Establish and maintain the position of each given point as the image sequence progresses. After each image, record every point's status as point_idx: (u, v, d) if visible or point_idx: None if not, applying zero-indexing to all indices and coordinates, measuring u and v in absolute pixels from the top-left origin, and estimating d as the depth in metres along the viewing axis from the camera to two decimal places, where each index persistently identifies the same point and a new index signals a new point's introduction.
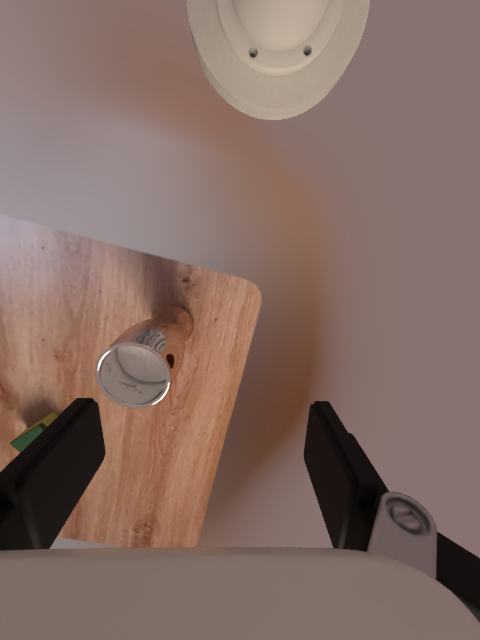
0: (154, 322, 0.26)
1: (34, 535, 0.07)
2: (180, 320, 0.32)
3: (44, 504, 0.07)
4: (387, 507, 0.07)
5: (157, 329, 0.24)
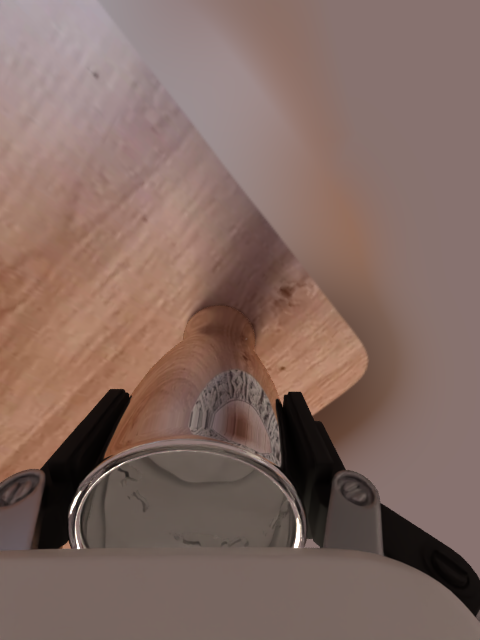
0: (259, 366, 0.11)
1: None
2: None
3: None
4: (340, 484, 0.07)
5: (276, 399, 0.10)
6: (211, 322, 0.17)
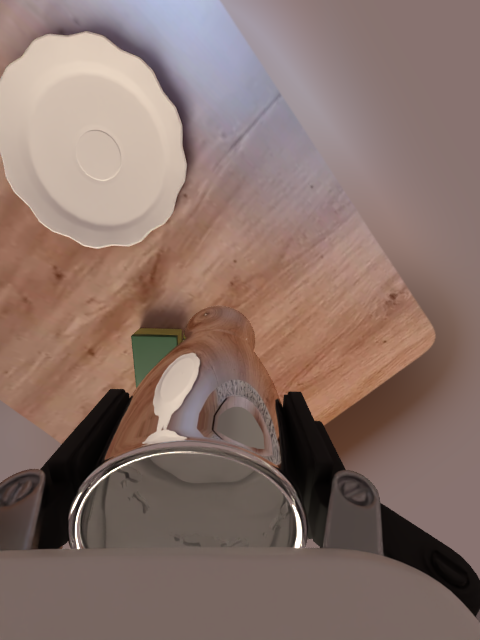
0: (260, 367, 0.11)
1: None
2: None
3: None
4: (340, 483, 0.07)
5: (276, 400, 0.10)
6: (211, 323, 0.17)
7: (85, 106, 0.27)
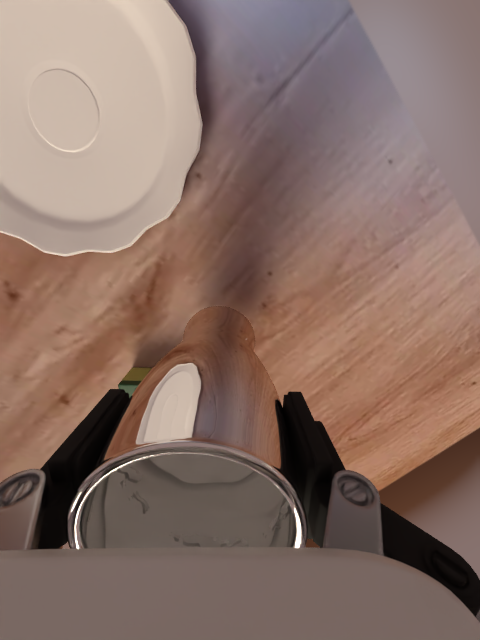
0: (259, 367, 0.11)
1: None
2: None
3: None
4: (340, 483, 0.07)
5: (276, 400, 0.10)
6: (211, 323, 0.17)
7: (39, 27, 0.17)
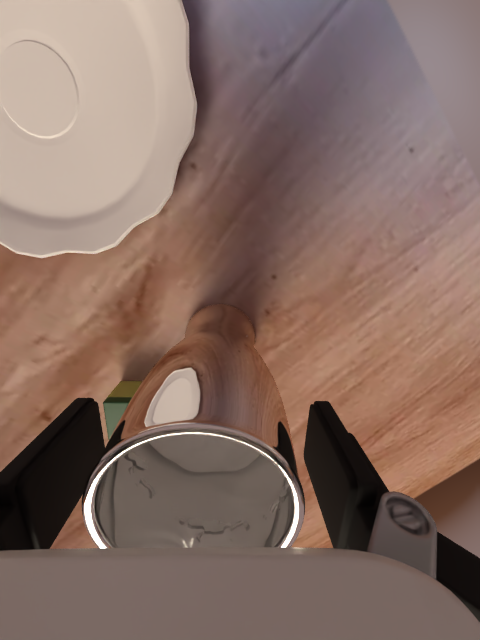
0: (260, 361, 0.12)
1: (34, 535, 0.07)
2: None
3: (44, 504, 0.07)
4: (387, 507, 0.07)
5: (276, 391, 0.10)
6: (212, 320, 0.17)
7: None
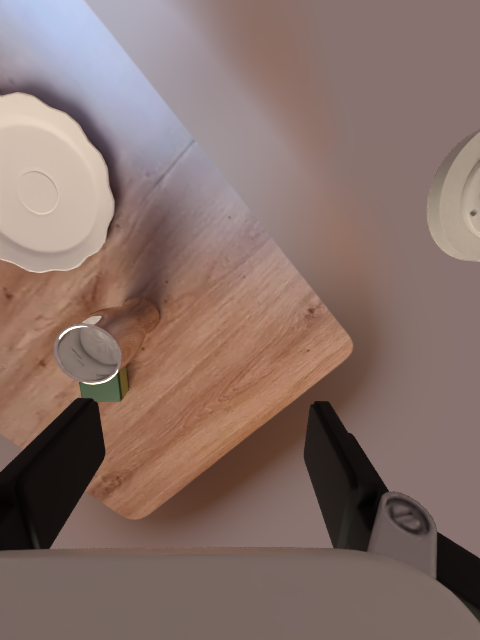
0: (130, 316, 0.29)
1: (34, 535, 0.07)
2: (149, 319, 0.35)
3: (44, 504, 0.07)
4: (387, 507, 0.07)
5: (129, 326, 0.27)
6: (127, 304, 0.34)
7: (23, 151, 0.32)
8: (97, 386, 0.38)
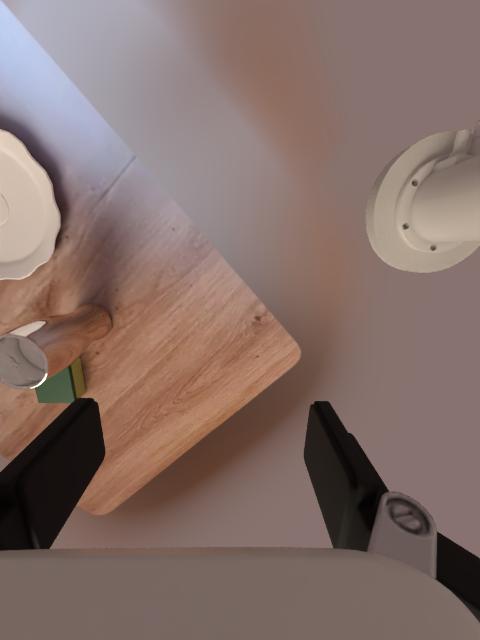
0: (66, 325, 0.30)
1: (34, 535, 0.07)
2: (96, 326, 0.37)
3: (44, 504, 0.07)
4: (387, 507, 0.07)
5: (63, 334, 0.29)
6: (74, 311, 0.36)
7: None
8: (51, 388, 0.40)
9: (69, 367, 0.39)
